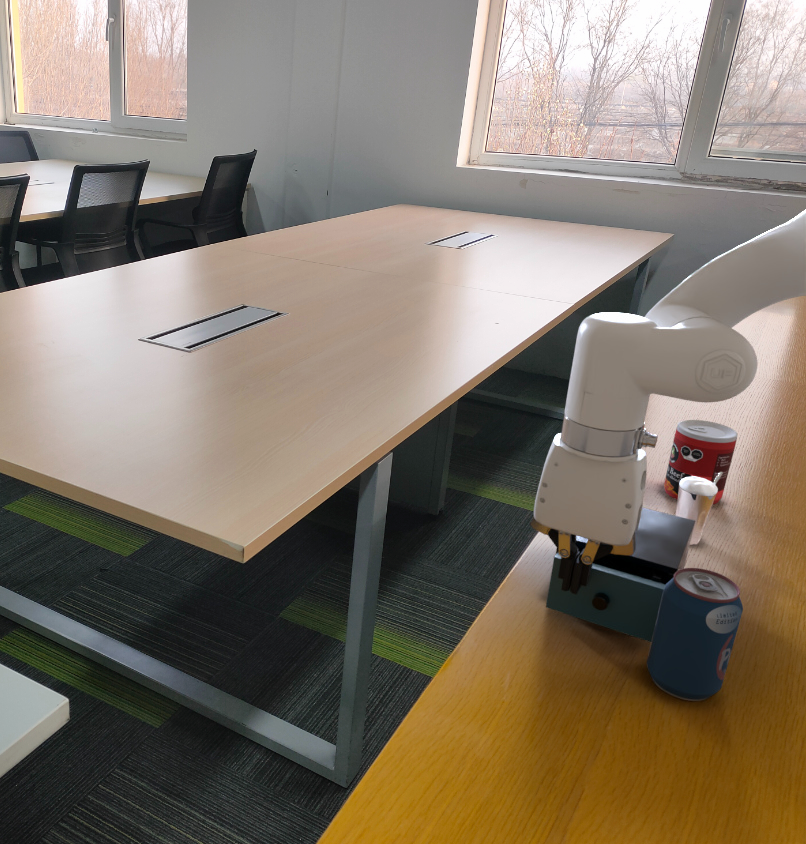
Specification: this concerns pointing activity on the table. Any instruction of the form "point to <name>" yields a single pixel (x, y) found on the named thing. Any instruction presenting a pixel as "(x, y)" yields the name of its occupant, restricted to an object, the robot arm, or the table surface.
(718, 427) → the canned food
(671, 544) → the cabinet
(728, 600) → the soda can
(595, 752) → the table surface
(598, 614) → the drawer
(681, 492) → the milkshake
